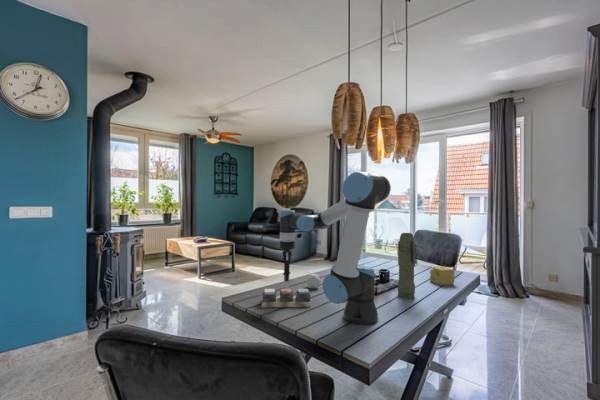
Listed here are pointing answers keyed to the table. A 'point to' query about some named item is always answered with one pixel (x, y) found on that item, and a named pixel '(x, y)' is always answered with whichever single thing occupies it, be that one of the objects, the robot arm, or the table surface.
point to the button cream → (269, 291)
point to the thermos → (406, 266)
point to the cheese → (442, 275)
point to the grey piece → (286, 300)
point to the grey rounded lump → (313, 281)
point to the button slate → (303, 291)
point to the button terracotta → (286, 291)
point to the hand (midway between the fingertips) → (286, 287)
